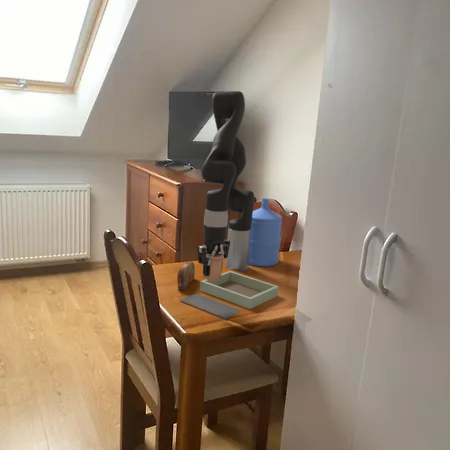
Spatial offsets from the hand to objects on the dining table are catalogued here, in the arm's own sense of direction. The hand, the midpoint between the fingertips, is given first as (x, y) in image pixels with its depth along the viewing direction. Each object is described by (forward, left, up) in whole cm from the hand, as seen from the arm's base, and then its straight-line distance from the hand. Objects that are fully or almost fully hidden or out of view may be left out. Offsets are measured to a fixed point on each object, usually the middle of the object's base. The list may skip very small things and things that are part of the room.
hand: (212, 273), depth 157 cm
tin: (-8, -19, -12) cm, 24 cm away
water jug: (-55, -18, -12) cm, 59 cm away
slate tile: (0, 0, -12) cm, 12 cm away
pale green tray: (-16, 0, -12) cm, 20 cm away
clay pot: (0, 0, -1) cm, 1 cm away
